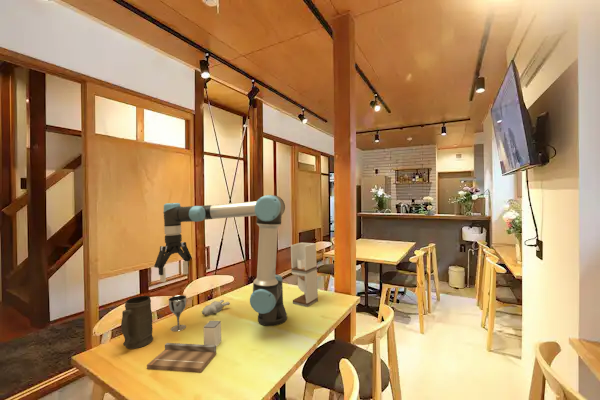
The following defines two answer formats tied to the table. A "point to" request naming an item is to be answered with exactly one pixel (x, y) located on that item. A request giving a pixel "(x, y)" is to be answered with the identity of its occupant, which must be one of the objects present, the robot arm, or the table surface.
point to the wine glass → (177, 309)
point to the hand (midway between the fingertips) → (174, 277)
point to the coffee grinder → (305, 272)
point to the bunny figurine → (214, 307)
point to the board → (183, 357)
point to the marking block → (212, 333)
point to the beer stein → (137, 322)
